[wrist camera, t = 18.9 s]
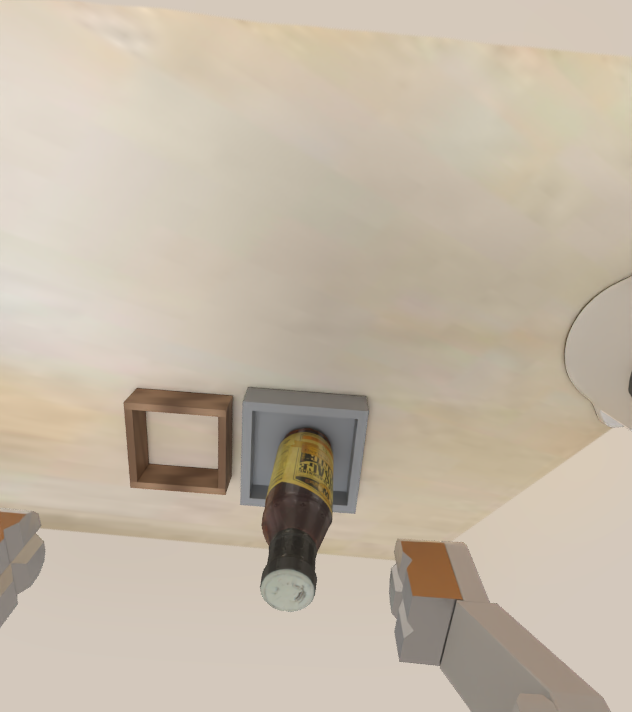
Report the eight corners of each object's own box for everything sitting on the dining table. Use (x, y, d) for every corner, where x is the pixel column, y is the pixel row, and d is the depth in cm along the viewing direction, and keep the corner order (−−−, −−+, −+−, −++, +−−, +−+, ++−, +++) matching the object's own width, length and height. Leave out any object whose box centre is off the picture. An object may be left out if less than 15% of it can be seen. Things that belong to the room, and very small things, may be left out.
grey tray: (366, 396, 50) (368, 411, 47) (353, 494, 54) (355, 513, 51) (248, 387, 50) (242, 401, 46) (245, 485, 54) (240, 504, 51)
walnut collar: (232, 395, 50) (226, 410, 47) (231, 476, 54) (225, 494, 51) (137, 388, 50) (123, 402, 47) (142, 469, 54) (130, 487, 51)
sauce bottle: (343, 454, 51) (353, 607, 33) (298, 480, 53) (284, 641, 34) (310, 412, 50) (301, 547, 31) (265, 439, 51) (230, 585, 32)
